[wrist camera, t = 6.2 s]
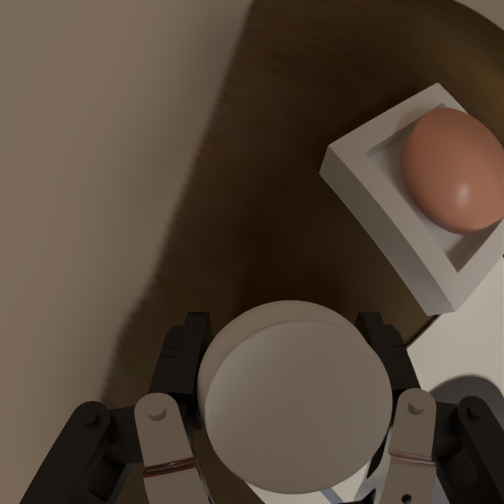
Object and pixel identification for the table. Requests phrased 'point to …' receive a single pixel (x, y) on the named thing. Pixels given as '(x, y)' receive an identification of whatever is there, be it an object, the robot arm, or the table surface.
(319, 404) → the supplement bottle
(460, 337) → the white flat board
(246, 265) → the table surface
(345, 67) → the table surface
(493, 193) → the button
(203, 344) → the robot arm
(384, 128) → the white square tray
